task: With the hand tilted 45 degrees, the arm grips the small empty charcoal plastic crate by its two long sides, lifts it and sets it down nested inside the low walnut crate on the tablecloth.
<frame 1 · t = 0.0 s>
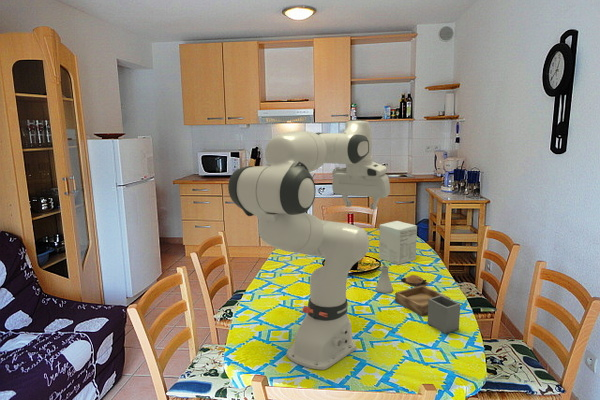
hand: (360, 207, 139), 39 cm above the table, tool pointing down, fingers open, 8 cm apart
walnut crate: (422, 304, 151), on the table
flask: (384, 290, 165), on the table
bread roll: (414, 283, 172), on the table
small crate: (442, 326, 135), on the table
supplement box: (397, 259, 201), on the table
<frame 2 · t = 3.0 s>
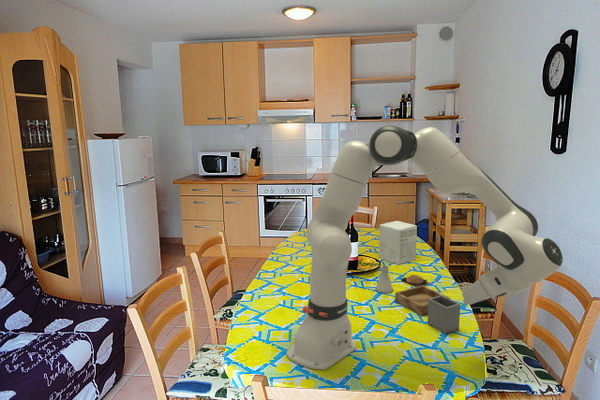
hand: (476, 298, 121), 15 cm above the table, tool tilted 45°, fingers open, 8 cm apart
nothing on the table moved.
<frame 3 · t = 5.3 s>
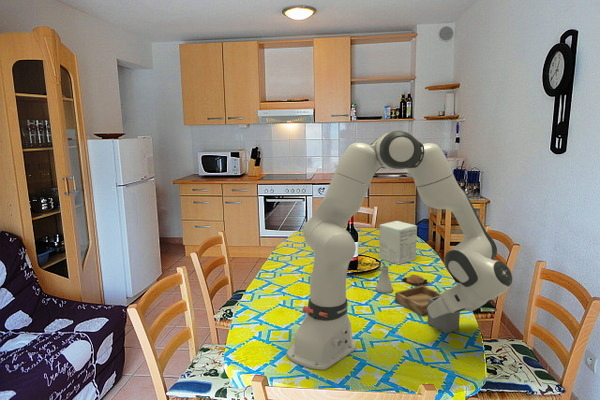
hand: (442, 312, 134), 5 cm above the table, tool tilted 45°, fingers closed on small crate, 6 cm apart
small crate: (442, 326, 135), on the table, touching gripper
everything else where it was.
when the fingers open (8 cm above the table, at t = 10.5 s): small crate drops 2 cm, resting on walnut crate.
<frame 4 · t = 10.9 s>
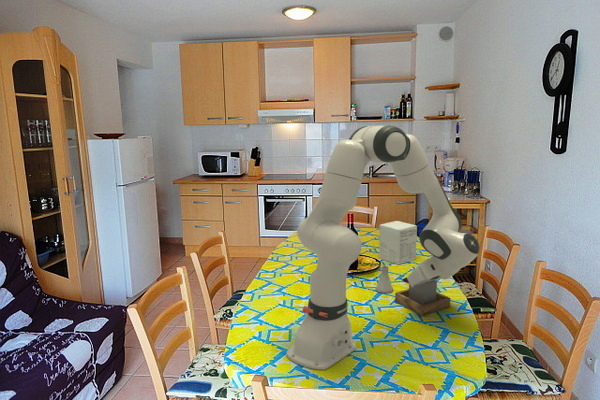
hand: (421, 282, 150), 8 cm above the table, tool tilted 45°, fingers open, 8 cm apart
small crate: (422, 301, 151), point 1 cm above the table, touching walnut crate
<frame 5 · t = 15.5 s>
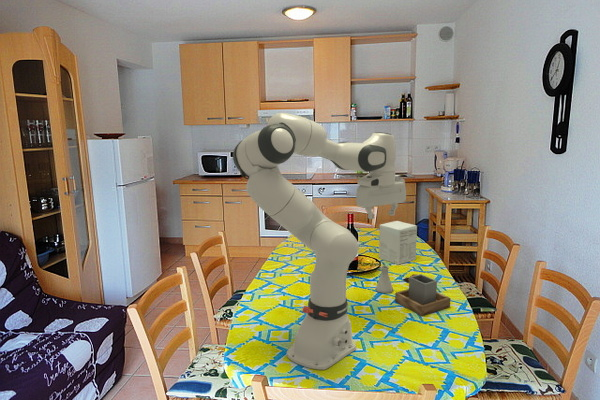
hand: (381, 216, 145), 34 cm above the table, tool pointing down, fingers open, 8 cm apart
at the end: small crate inside the target area on the walnut crate (0.1 cm from its centre), point 1.0 cm above the walnut crate's base; small crate tilted 0°; the gripper is holding nothing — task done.
